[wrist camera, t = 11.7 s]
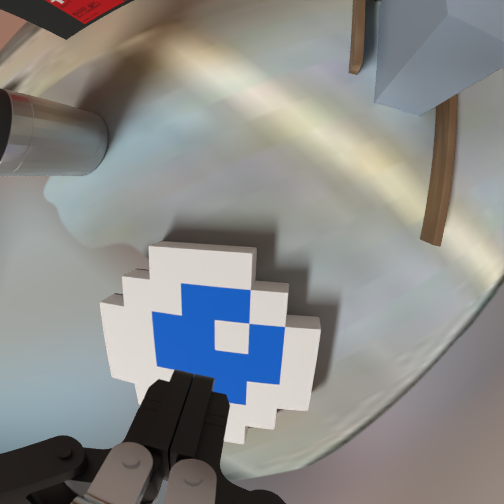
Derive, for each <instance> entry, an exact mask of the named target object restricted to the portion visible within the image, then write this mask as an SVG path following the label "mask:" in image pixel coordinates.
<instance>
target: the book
mask: <svg viewBox="0 0 504 504" xmlns="http://www.w3.org/2000/svg"><path fill="white" fill-rule="evenodd" d="M502 67H504V0H382V1H381V3H380V5H379V26H378V54H377V71H376V84H375V96H374V103H377V104H381V105H385V106H388V107H392V108H396V109H399V110H402V111H406V112H409V113H412V114H416V115H419V116H421V115H422V114H424V113H426V112H427V111H429V110H431V109H432V108H434V107H436V106H437V105H439V104H441V103H442V102H444V101H446V100H447V99H449V98H451V97H452V96H454V95H456V94H457V93H459V92H461V91H462V90H464V89H466V88H468V87H469V86H471V85H473V84H474V83H476V82H478V81H479V80H481V79H483V78H485V77H486V76H488V75H490V74H492V73H493V72H495V71H497V70H499V69H500V68H502Z"/></svg>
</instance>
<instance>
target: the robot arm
mask: <svg viewBox="0 0 504 504" xmlns="http://www.w3.org/2000/svg"><path fill="white" fill-rule="evenodd" d="M107 144H108V132H107V127H106V124H105V123H104V121H103V119H102V118H101V117H100V116H98V115H97V114H94V113H91V112H88V111H85V110H81V109H78V108H75V107H71V106H68V105H64V104H61V103H57V102H53V101H50V100H46V99H42V98H38V97H34V96H30V95H26V94H22V93H18V92H13V91H9V90H4V89H0V177H4V176H83V175H87V174H89V173H91V172H92V171H93V170H94V169H96V167H97V166H98V165H99V164H100V162H101V161H102V159H103V157H104V154H105V152H106V148H107ZM214 382H215V378H213V377H208V376H203V375H198V374H195V375H194V374H193V373H189V372H185V371H180V370H176V369H175V370H174V372H173V374H172V376H171V379H170V381H169V382H168V381H165V380H161V379H158V380H157V381H156V382H154V383H153V384H152V385H151V386H149V388H148V390H147V392H146V394H145V396H144V399H143V401H142V403H141V405H140V408H139V409H138V411H137V413H136V416H135V418H134V420H133V422H132V424H131V427H130V429H129V431H128V433H127V435H126V437H125V439H124V441H123V442H122V443H120V444H118V445H116V446H114V447H113V448H111V449H104V450H103V449H92V448H83V447H82V445H81V444H80V443H79V442H78V441H77V440H76V439H74V438H72V437H69V436H56V437H53V438H50V439H47V440H45V441H41V442H39V443H35V444H32V445H29V446H26V447H23V448H19V449H16V450H13V451H9V452H6V453H2V454H0V504H155V503H156V501H157V499H158V496H159V490H160V487H161V484H162V481H163V480H166V481H168V484H167V490H166V495H165V500H164V504H286V503H284V501H283V500H282V499H281V498H280V497H279V496H278V495H276V494H275V493H273V492H270V491H267V490H253V491H248V490H246V489H243V488H241V487H239V486H237V485H235V484H233V483H231V482H230V481H228V480H227V479H226V478H225V477H224V475H223V474H222V472H221V469H220V459H221V453H222V448H223V442H224V437H225V431H226V425H227V420H228V414H229V409H230V404H229V401H228V398H227V395H226V394H223V393H218V392H213V390H214Z"/></svg>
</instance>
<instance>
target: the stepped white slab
mask: <svg viewBox="0 0 504 504" xmlns="http://www.w3.org/2000/svg"><path fill="white" fill-rule="evenodd" d="M256 260H257V247H244V246H229V245H214V244H199V243H184V242H169V241H161V242H158V243H155V244H153V245H150V246H149V270H146V269H135V270H133V271H131V272H129V273H127V274H125V275H124V276H122V286H123V294H118V293H115V294H113V295H111V296H109V297H108V298H106V299H104V300H102V301H101V302H100V309H101V316H102V324H103V330H104V337H105V342H106V349H107V355H108V360H109V365H110V370H111V375H112V377H113V378H117V379H120V380H124V381H127V382H131V383H135V386H136V393H137V398H138V403H139V404H140V405H141V403H142V401H143V399H144V396H145V394H146V392H147V390H148V388H149V386H151V385H152V384H153V383H154V382H156V381H157V380H158V379H161V380H165V381H168V382H169V381H170V379H171V376H172V374H173V372H174V370H175V369H176V370H180V371H185V372H189V373H193V374H194V375H195V374H198V375H203V376H208V377H213V378H215V382H214V390H213V392H218V393H223V394H226V395H227V398H228V401H229V404H230V409H229V414H228V420H227V425H226V431H225V437H224V441H225V442H232V443H238V444H244V443H245V439H246V435H247V431H248V427H256V428H265V429H274V428H275V421H276V414H277V409H287V410H300V411H308V407H309V401H310V396H311V390H312V385H313V379H314V373H315V367H316V360H317V354H318V347H319V340H320V333H321V325H320V318H319V317H313V316H299V315H287V305H288V293H289V283H279V282H266V281H256Z"/></svg>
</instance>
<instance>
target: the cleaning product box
mask: <svg viewBox="0 0 504 504" xmlns="http://www.w3.org/2000/svg"><path fill="white" fill-rule="evenodd" d="M132 1H134V0H0V9H1V10H4V11H6V12H9V13H11V14H13V15H16V16H18V17H20V18H22V19H25V20H27V21H29V22H31V23H33V24H35V25H37V26H39V27H42V28H44V29H46V30H48V31H50V32H52V33H54V34H56V35H58V36H60V37H62V38H64V39H66V40H67V39H68V38H70V37H71V36H73V35H74V34H76V33H77V32H79V31H80V30H82V29H83V28H85V27H87V26H88V25H90V24H92V23H93V22H95V21H97V20H98V19H100V18H102V17H103V16H105V15H107V14H109V13H111V12H112V11H114V10H116V9H118V8H120V7H122V6H124V5H126V4H128V3H130V2H132Z"/></svg>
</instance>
